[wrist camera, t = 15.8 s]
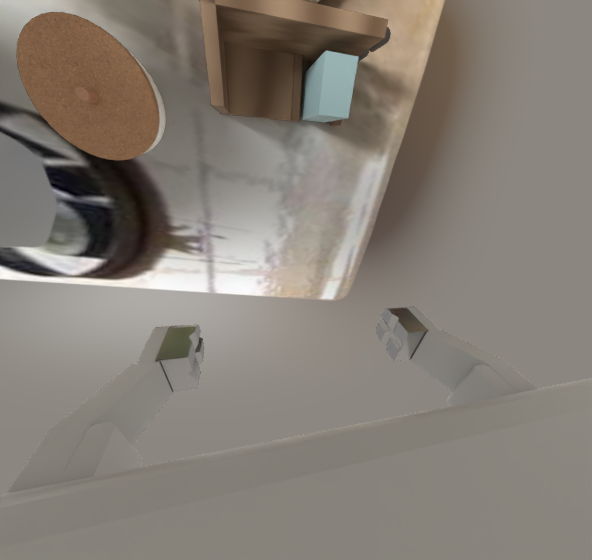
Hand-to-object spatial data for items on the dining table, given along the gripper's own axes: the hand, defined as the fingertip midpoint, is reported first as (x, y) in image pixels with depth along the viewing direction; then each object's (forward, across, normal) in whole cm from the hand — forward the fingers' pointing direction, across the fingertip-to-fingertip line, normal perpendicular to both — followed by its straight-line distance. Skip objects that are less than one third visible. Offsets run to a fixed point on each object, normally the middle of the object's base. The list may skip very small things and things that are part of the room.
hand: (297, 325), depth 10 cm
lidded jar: (+31, +16, -9) cm, 36 cm away
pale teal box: (+31, -8, -12) cm, 34 cm away
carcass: (+31, -4, -13) cm, 34 cm away
